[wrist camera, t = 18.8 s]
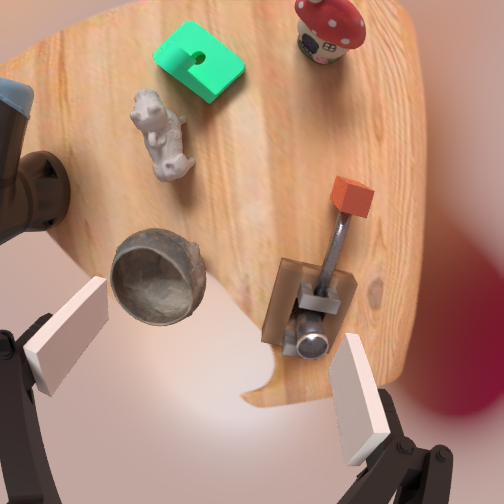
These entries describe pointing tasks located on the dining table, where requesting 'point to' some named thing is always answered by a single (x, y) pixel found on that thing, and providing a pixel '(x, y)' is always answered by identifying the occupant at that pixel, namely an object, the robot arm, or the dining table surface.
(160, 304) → the bowl
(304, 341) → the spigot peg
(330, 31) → the decorative ornament
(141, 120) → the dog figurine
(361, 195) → the pin
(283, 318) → the dock block
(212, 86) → the camera mount
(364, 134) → the dining table surface
